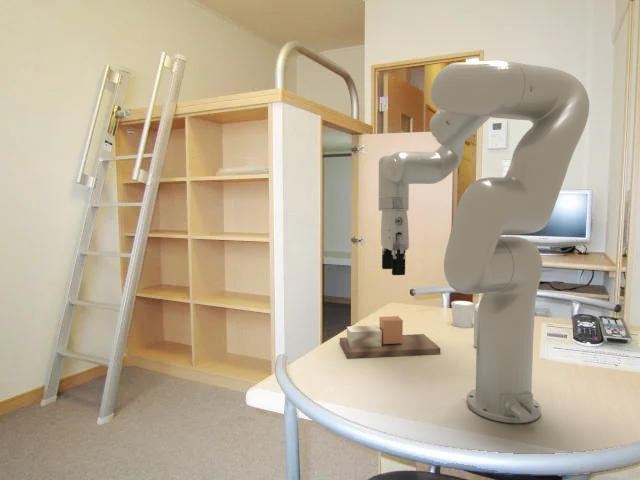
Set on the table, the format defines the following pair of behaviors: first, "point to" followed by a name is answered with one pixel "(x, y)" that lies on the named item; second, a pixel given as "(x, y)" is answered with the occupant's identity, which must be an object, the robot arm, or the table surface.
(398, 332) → the stub
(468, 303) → the white cup
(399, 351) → the ticket board
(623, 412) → the table surface
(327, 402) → the table surface
